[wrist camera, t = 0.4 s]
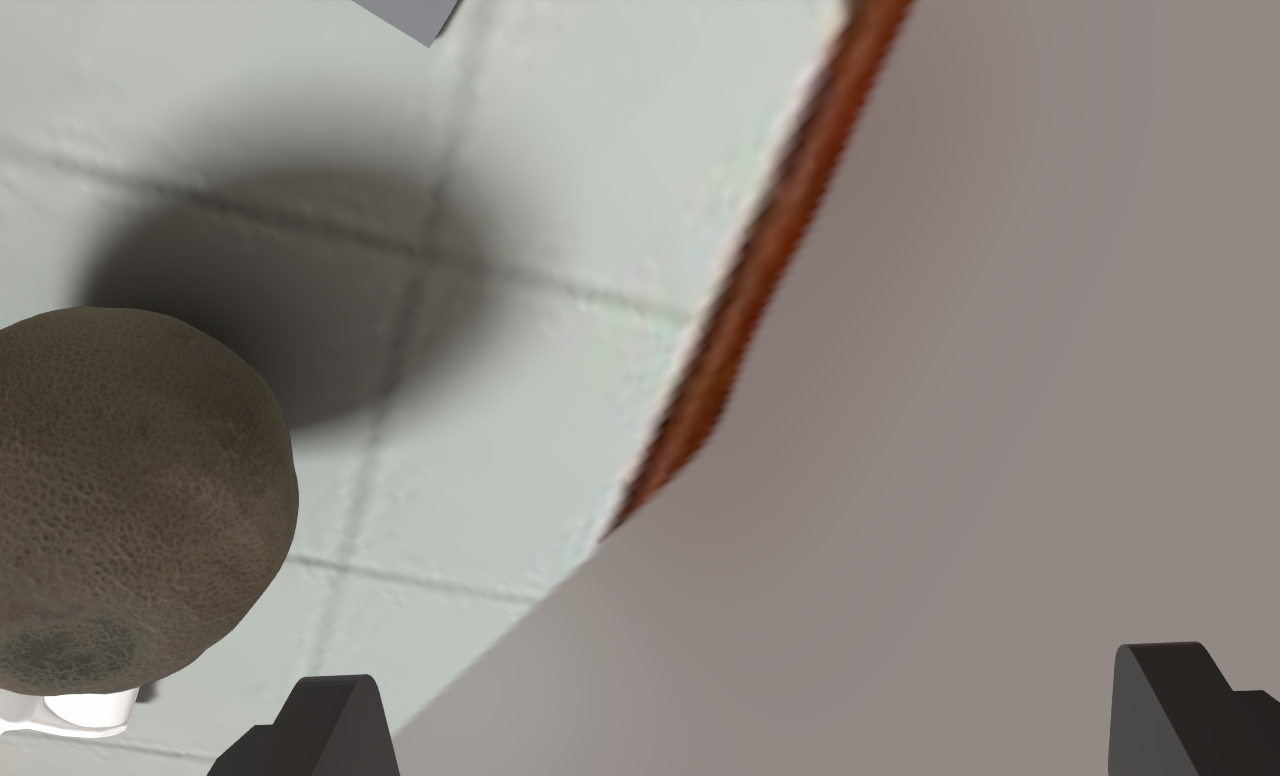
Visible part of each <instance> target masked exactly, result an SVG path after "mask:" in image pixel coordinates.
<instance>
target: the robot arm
mask: <svg viewBox="0 0 1280 776" xmlns="http://www.w3.org/2000/svg"><path fill="white" fill-rule="evenodd" d="M1108 772H1109V776H1280V702H1278V701H1277V700H1276V699H1274V698H1273V697H1271V696H1270V695H1269V694H1267V693H1266V692H1265V691H1263V690H1256V691H1233V690H1232V689H1231V687H1230V686H1229V684H1228V683H1227V681H1226V679H1225V678H1224V676H1223V675H1222V673H1221V672H1220V670H1219V669H1218V667H1217V665H1216V664H1215V662H1214V661H1213V659H1212V658H1211V656H1210V654H1209V653H1208V651H1207V650H1206V649H1205V647H1204V646H1203V645H1202V644H1200V643H1198V642H1174V643H1173V642H1172V643H1148V644H1124V645H1121V646H1120V647H1119V648H1118V650H1117V653H1116V658H1115V667H1114V682H1113V696H1112V711H1111V725H1110V741H1109V756H1108ZM207 776H400V774H399V770H398V765H397V761H396V757H395V753H394V749H393V745H392V741H391V737H390V733H389V729H388V725H387V721H386V717H385V713H384V709H383V705H382V701H381V697H380V693H379V690H378V686H377V684H376V682H375V680H374V679H373V677H371V676H370V675H368V674H363V675H339V676H315V677H304V678H302V679H300V680H299V681H298V682H297V683H296V685H295V686H294V688H293V690H292V692H291V693H290V695H289V697H288V699H287V700H286V702H285V704H284V706H283V707H282V709H281V711H280V713H279V714H278V716H277V718H276V720H275V721H274V723H273V725H254V726H253V727H252V728H251V729H250V730H249V731H248V732H247V733H245V734H244V735H243V736H242V737H241V738H240V739H239V740H238V741H236V742H235V743H234V744H233V745H232V746H231V747H230V748H229V749H227V750H226V751H225V752H224V753H223V754H222V755H221V756H219V757H218V758H217V759H216V761H215V763H214V764H213V766H212V768H211V769H210V771H209V773H208V774H207Z"/></svg>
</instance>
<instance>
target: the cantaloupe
mask: <svg viewBox="0 0 1280 776" xmlns="http://www.w3.org/2000/svg"><path fill="white" fill-rule="evenodd" d="M298 507H299V490H298V482H297V476H296V472H295V468H294V464H293V453H292V445H291V438H290V434H289V430H288V427H287V424H286V420H285V418H284V415H283V413H282V410H281V407H280V405H279V402H278V400H277V398H276V396H275V394H274V393H273V391H272V390H271V388H270V386H269V385H268V384H267V382H266V381H265V380H264V379H263V377H262V376H261V375H260V374H259V373H258V372H257V371H256V370H255V369H254V368H252V367H251V366H250V365H249V364H248V363H247V362H246V361H245V360H244V359H243V358H241V357H240V356H239V355H238V354H236V353H235V352H234V351H232V350H231V349H230V348H229V347H227V346H226V345H224V344H223V343H221V342H220V341H218V340H217V339H215V338H213V337H211V336H209V335H208V334H206V333H204V332H202V331H200V330H199V329H197V328H195V327H193V326H191V325H189V324H187V323H186V322H184V321H182V320H180V319H177V318H174V317H172V316H169V315H165V314H161V313H157V312H153V311H147V310H141V309H134V308H101V307H74V308H67V309H61V310H54V311H50V312H46V313H42V314H39V315H36V316H33V317H31V318H28V319H25V320H22V321H19V322H17V323H15V324H13V325H10V326H8V327H6V328H4V329H2V330H0V689H4V690H7V691H11V692H14V693H18V694H23V695H32V696H60V695H72V694H111V693H118V692H124V691H127V690H131V689H134V688H138V687H141V686H144V685H146V684H149V683H152V682H154V681H157V680H160V679H162V678H165V677H167V676H169V675H171V674H173V673H175V672H177V671H179V670H181V669H183V668H184V667H186V666H188V665H189V664H191V663H192V662H193V661H195V660H196V659H197V658H198V657H199V656H200V655H201V654H202V653H203V652H204V651H205V650H206V649H208V648H209V647H211V646H212V645H214V644H215V643H217V642H218V641H220V640H221V639H222V638H224V637H225V636H226V635H227V634H229V633H230V632H231V631H232V630H233V629H234V628H235V627H236V626H237V625H238V624H239V622H240V621H241V620H242V619H243V618H244V616H245V615H246V614H247V613H248V611H249V610H250V609H251V608H252V606H253V605H254V604H255V603H256V601H257V600H258V599H259V598H260V596H261V595H262V594H263V593H264V591H265V590H266V589H267V587H268V586H269V585H270V583H271V582H272V581H273V579H274V578H275V576H276V575H277V573H278V572H279V570H280V568H281V566H282V564H283V562H284V560H285V558H286V556H287V554H288V551H289V549H290V546H291V543H292V541H293V537H294V533H295V528H296V523H297V517H298Z"/></svg>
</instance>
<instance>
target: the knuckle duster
mask: <svg viewBox="0 0 1280 776" xmlns="http://www.w3.org/2000/svg"><path fill="white" fill-rule="evenodd" d="M139 688H140V687H138V688H134V689H131V690H127V691H124V692H118V693H111V694H72V695H60V696H32V695H23V694H18V693H14V692H11V691H7V690H4V689H0V735H1V734H2V733H3V732H4V731H7V730H15V729H23V728H29V729H34V730H38V731H43V732H48V733H52V734H57V735H61V736H74V737H89V738H98V737H106V736H112V735H116V734H119V733H121V732H123V731H125V730H126V729H127V726H128V724H129V721H130V718H131V716H132V713H133V711H134V707H135V706H134V705H135V701H136V698H137V695H138V692H139Z"/></svg>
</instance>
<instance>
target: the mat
mask: <svg viewBox="0 0 1280 776" xmlns="http://www.w3.org/2000/svg"><path fill="white" fill-rule="evenodd" d="M352 1H354V2H355V3H357V4H358V5H360V6H362V7H363V8H365V9H367V10H368V11H370V12H371V13H373V14H375V15H376V16H378V17H380V18H381V19H383V20H384V21H386V22H388V23H389V24H391V25H393V26H394V27H396V28H397V29H399V30H401V31H402V32H404V33H405V34H407V35H409V36H410V37H412V38H414V39H415V40H417V41H418V42H420V43H422V44H423V45H425V46H427V47H428V48H430V46H431V44H432V43H433V41H434V39H435V38H436V36H437V34H438V33H439V31H440V29H441V28H442V26H443V24H444V23H445V21H446V19H447V18H448V16H449V14H450V13H451V11H452V9H453V8H454V6H455V4H456V3H457V1H458V0H352Z"/></svg>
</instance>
